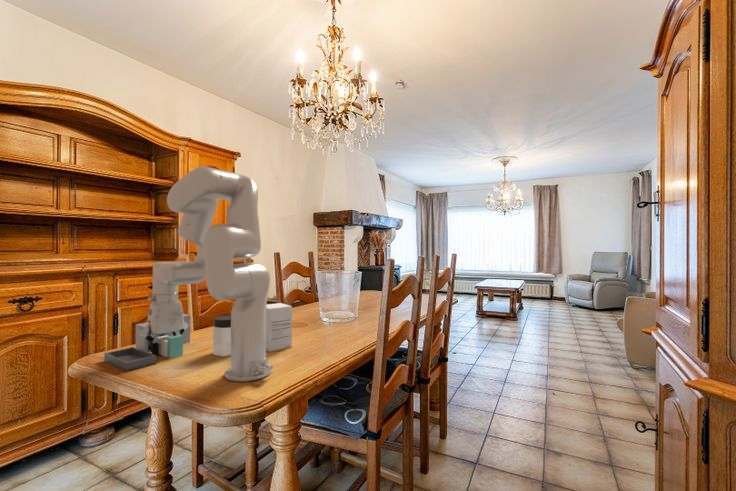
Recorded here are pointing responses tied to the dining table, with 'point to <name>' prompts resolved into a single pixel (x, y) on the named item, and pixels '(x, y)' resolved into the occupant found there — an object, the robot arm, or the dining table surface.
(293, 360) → the dining table surface
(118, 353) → the tray
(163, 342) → the teal-capped white block
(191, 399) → the dining table surface
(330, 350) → the dining table surface
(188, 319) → the bay
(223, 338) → the jar
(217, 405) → the dining table surface
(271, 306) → the supplement box
